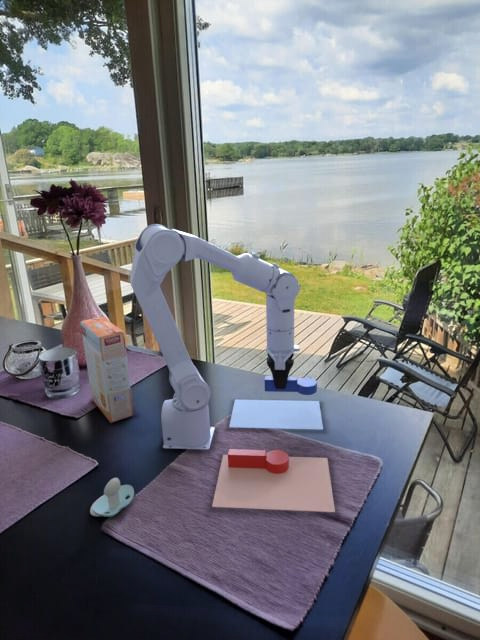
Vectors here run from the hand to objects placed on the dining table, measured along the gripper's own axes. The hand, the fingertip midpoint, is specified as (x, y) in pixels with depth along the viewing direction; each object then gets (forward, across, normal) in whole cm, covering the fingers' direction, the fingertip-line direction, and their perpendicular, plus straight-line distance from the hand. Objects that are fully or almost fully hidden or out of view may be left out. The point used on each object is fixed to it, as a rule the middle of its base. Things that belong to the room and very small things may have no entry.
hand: (280, 385), depth 95 cm
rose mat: (+8, -21, +1) cm, 23 cm away
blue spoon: (+1, 0, -2) cm, 2 cm away
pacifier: (+8, -29, +28) cm, 41 cm away
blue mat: (+8, +1, +1) cm, 8 cm away
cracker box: (+8, +3, +40) cm, 41 cm away
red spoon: (+8, -17, +4) cm, 19 cm away
